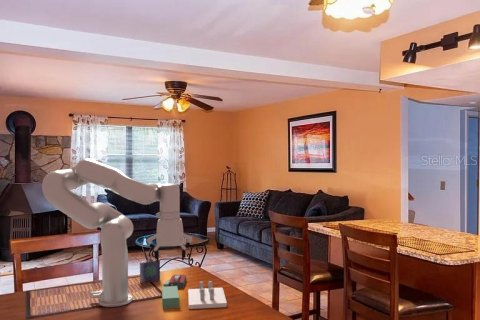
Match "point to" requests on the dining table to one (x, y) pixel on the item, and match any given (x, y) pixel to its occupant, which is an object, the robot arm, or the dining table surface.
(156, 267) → the flask
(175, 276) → the walkie-talkie
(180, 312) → the dining table surface
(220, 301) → the standoff plate
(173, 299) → the green boxy piece
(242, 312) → the dining table surface
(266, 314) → the dining table surface
